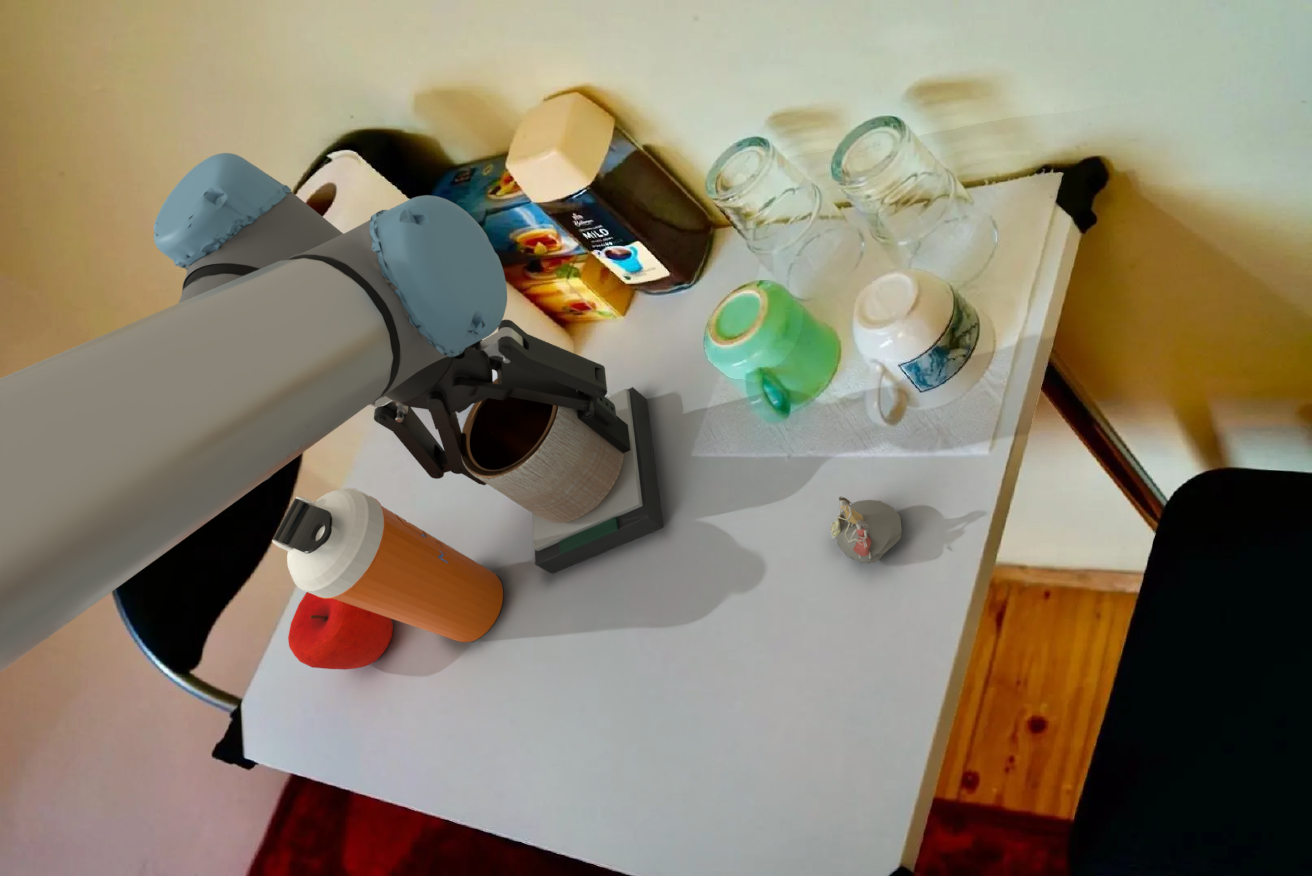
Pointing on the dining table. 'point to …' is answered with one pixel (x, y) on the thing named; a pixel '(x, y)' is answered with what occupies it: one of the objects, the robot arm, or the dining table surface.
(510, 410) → the planter
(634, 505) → the scale
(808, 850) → the dining table surface
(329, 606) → the apple
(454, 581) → the shaker bottle
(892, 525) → the figurine
